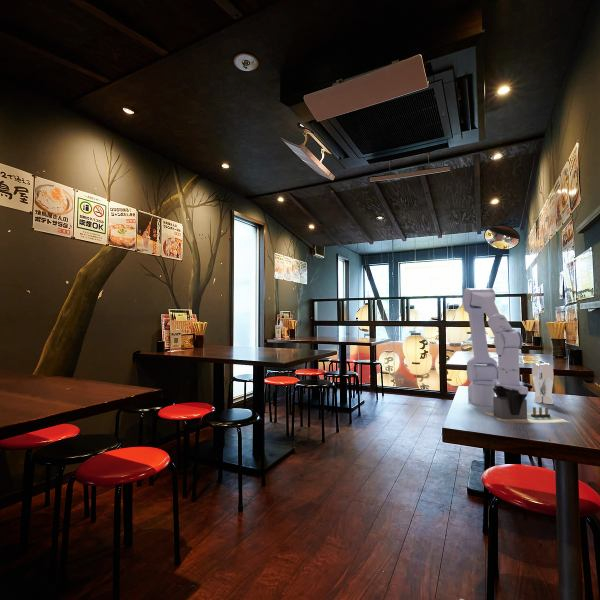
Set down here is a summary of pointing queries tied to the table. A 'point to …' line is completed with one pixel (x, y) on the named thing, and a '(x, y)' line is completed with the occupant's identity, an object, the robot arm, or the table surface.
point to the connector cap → (508, 409)
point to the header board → (534, 417)
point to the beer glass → (543, 382)
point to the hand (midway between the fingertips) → (510, 412)
